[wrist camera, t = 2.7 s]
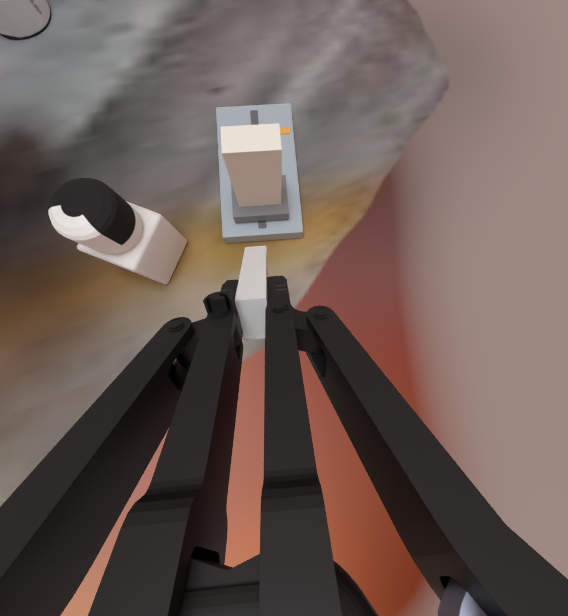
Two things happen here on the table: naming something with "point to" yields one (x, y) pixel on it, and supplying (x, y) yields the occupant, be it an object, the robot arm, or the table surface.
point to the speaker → (23, 17)
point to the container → (116, 229)
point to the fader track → (289, 168)
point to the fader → (255, 172)
